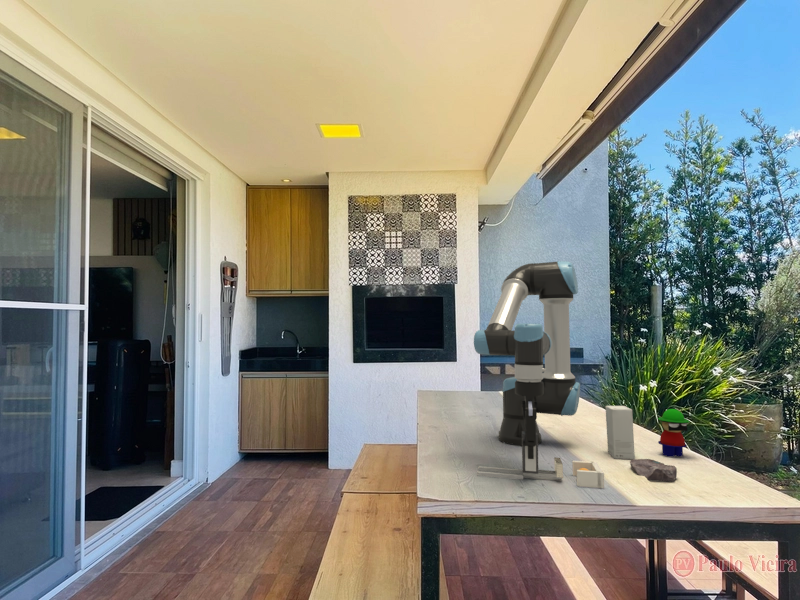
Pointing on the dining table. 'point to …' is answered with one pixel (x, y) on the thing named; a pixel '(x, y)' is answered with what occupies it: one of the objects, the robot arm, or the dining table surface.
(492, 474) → the pitch
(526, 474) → the dark textured box
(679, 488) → the dining table surface
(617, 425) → the skincare box
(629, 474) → the dining table surface
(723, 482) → the dining table surface
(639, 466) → the rock
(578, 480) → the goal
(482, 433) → the dining table surface
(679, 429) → the toy
